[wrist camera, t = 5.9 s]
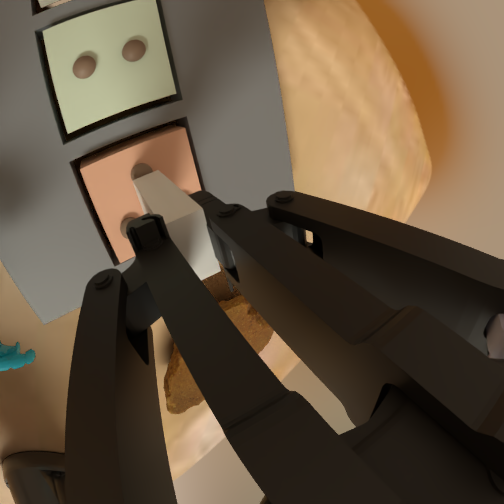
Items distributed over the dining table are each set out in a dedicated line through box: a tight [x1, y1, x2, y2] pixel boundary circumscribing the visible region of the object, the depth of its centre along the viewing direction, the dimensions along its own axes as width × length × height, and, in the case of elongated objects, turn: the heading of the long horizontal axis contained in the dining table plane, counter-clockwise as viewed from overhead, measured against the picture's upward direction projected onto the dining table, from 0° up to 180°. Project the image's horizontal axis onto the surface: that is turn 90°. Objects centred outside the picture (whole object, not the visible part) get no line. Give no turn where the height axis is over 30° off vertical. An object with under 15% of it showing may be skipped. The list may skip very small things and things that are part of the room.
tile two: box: [43, 0, 176, 134], centre depth 12 cm, size 6×6×3 cm
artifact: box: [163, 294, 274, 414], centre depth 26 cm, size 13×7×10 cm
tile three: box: [80, 125, 202, 263], centre depth 17 cm, size 6×6×3 cm
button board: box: [0, 0, 295, 325], centre depth 13 cm, size 20×26×2 cm
